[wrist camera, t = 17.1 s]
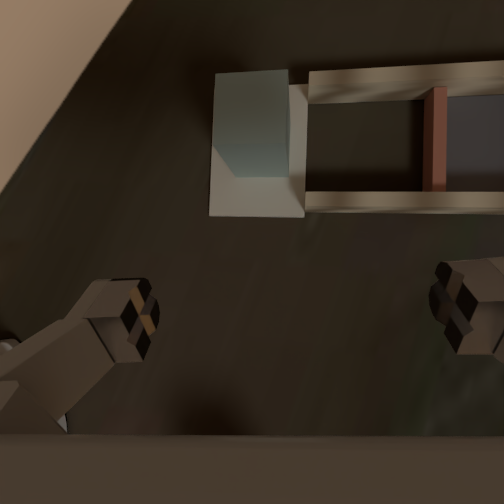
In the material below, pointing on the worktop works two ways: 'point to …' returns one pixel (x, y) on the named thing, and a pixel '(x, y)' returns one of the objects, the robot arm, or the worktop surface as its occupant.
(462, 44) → the worktop surface
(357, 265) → the worktop surface
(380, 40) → the worktop surface
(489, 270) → the robot arm
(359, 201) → the wooden divided tray
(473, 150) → the box
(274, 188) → the pad
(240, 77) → the grey-green block
